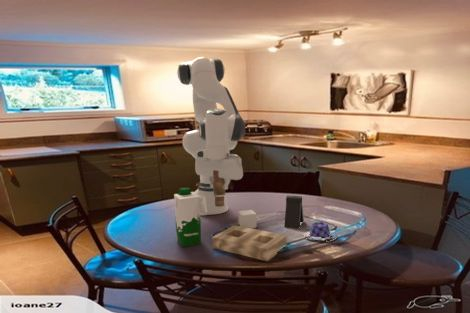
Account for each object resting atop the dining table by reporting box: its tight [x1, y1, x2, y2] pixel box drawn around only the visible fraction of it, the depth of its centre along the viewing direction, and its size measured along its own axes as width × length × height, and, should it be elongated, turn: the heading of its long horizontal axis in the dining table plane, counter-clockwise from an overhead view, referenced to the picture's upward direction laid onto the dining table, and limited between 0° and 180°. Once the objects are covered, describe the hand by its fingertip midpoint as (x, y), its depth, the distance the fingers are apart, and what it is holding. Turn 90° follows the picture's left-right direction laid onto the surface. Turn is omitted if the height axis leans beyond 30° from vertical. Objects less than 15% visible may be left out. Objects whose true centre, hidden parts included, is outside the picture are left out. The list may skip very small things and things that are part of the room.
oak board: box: [211, 224, 288, 262], centre depth 125 cm, size 22×14×4 cm, turn 56°
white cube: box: [237, 209, 257, 229], centre depth 147 cm, size 6×6×6 cm
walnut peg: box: [213, 170, 226, 207], centre depth 136 cm, size 5×5×14 cm
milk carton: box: [173, 186, 202, 248], centre depth 131 cm, size 9×9×20 cm
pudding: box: [303, 221, 337, 243], centre depth 133 cm, size 12×12×5 cm
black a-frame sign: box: [284, 195, 305, 229], centre depth 146 cm, size 9×6×12 cm, turn 156°
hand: (219, 188), depth 136 cm, fingers closed on walnut peg, 4 cm apart
